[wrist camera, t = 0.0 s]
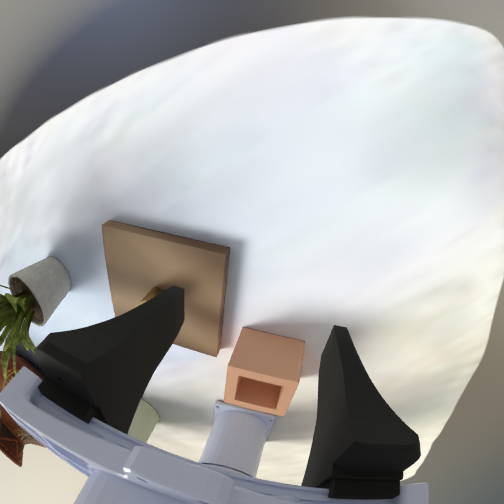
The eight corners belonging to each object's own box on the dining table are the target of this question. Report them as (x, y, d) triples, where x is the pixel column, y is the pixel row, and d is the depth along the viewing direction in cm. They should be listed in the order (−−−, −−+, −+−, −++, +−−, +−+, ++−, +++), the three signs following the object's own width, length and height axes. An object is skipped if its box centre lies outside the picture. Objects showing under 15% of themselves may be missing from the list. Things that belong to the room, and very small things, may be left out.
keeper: (220, 349, 29) (205, 382, 25) (122, 316, 31) (100, 342, 27) (229, 247, 24) (209, 278, 20) (109, 220, 25) (77, 241, 21)
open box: (291, 379, 29) (283, 416, 25) (236, 366, 30) (223, 402, 26) (305, 341, 26) (299, 382, 22) (242, 326, 27) (227, 365, 23)
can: (144, 394, 39) (109, 455, 28) (168, 426, 42) (141, 481, 32) (103, 384, 41) (68, 435, 31) (127, 415, 45) (100, 463, 35)
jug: (28, 336, 43) (-44, 417, 22) (113, 432, 54) (68, 509, 32) (-5, 339, 54) (-55, 393, 32) (57, 414, 64) (20, 469, 43)
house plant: (38, 189, 26) (-76, 255, 12) (114, 278, 29) (11, 386, 14) (18, 257, 32) (-59, 319, 18) (78, 327, 35) (9, 407, 21)
